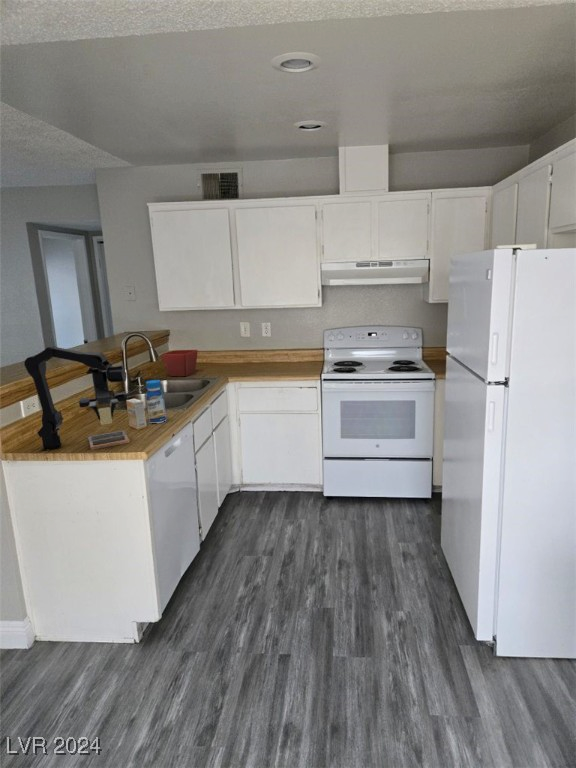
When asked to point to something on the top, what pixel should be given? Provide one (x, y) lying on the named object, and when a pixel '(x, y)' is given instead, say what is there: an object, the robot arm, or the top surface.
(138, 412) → the supplement box
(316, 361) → the top surface
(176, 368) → the plant pot
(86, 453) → the top surface
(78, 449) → the top surface
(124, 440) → the rail frame
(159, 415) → the beverage bottle
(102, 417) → the pale yellow block
